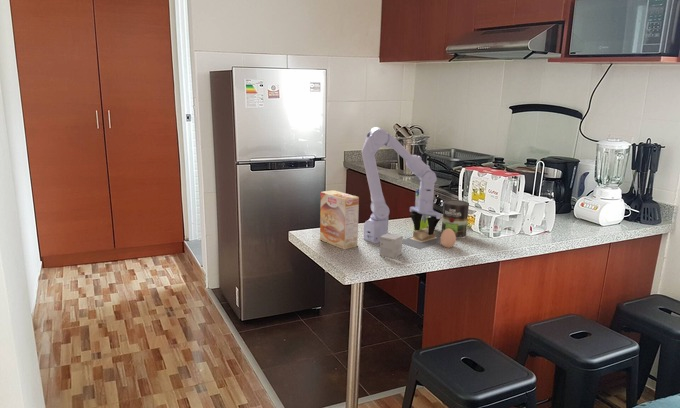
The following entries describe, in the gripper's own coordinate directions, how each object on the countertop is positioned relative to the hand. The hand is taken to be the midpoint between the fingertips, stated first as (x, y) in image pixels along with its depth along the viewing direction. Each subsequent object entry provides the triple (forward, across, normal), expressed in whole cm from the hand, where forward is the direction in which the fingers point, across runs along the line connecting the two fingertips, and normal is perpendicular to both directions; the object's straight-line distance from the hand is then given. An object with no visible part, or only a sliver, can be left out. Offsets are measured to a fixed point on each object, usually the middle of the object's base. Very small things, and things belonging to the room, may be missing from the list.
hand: (423, 232), depth 207 cm
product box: (+3, -5, +24) cm, 25 cm away
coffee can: (+3, -4, -14) cm, 15 cm away
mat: (+3, -2, +3) cm, 5 cm away
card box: (+2, 0, 0) cm, 2 cm away
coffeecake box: (+3, +17, +30) cm, 35 cm away
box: (+3, +11, -12) cm, 16 cm away
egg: (+3, -12, +1) cm, 13 cm away
